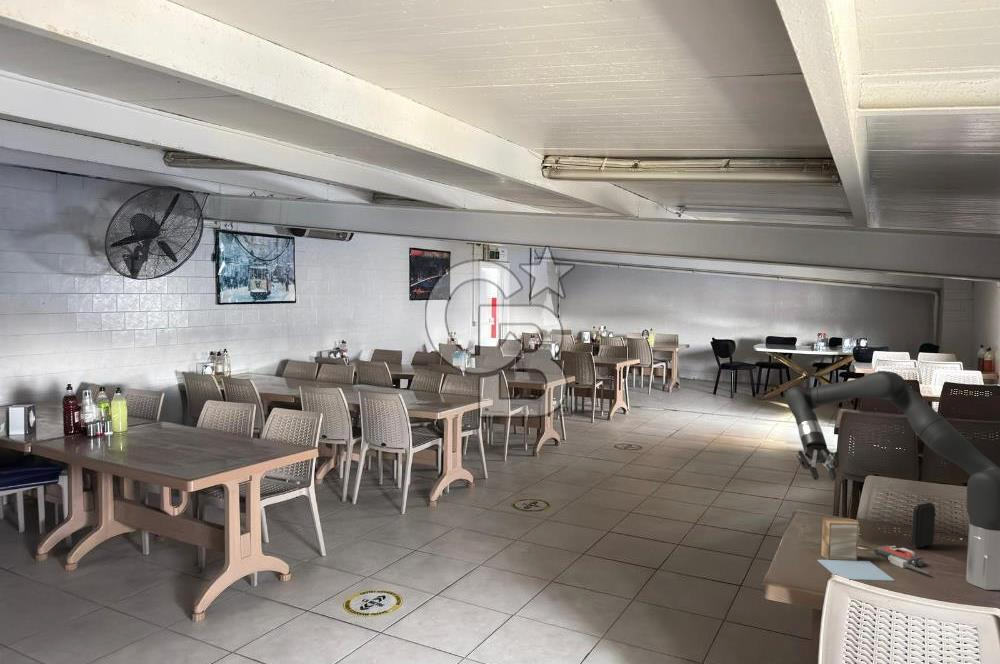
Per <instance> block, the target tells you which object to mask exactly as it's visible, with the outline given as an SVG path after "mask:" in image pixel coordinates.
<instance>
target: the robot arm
mask: <svg viewBox="0 0 1000 664" xmlns="http://www.w3.org/2000/svg"><path fill="white" fill-rule="evenodd" d="M857 398H859V399H860V398H875V399H879V400H887V401H889V402H890V403H892V404H893V405H894V406H895V407H897V408H898V409H899V410H900V411H901V412H902V413H903V414H904V416H905V418H907V421H908V423H909V425H910V427H911V428H912V431H913V432H914V433H915V434H916V435H917V436H918V438H919V439H920V440H922V442H923V443H924V444H925V445H926V446H927V447H928V448H929V449H931V450H932V451H933V452H934V453H936V454H938V455H939V456H940V457H943V458H944V459H946V460H948V461H950V462H951V463H954V465H955V464H956V465H957V466H959V467H960V468H961V469H963V470H964V471H965V472H966V473H967V474H968V475H970V477H969V478H968V480H967V485H966V513H967V514H968V518H969V519H968V520H969V521H968V537H967V539H968V540H967V541H968V542H967V553H966V554H967V559H966V578H965V581H966V582H967V583H969V584H971V585H972V586H975V587H978V588H980V589H983V590H986V591H987V590H989V591H991V590H992V591H1000V466H998V465H997V464H995V463H994V462H993V461H992V460H990V459H989V458H988V457H986V456H985V455H984V454H982V452H980V451H979V450H978V449H977V448H976V447H975V446H974V445H973V444H972V443H971V442H970V441H969V440H968V439H966V437H965V436H963V435H962V434H961V433H960V432H959V431H958V430H957V429H956V428H955V426H953V425H952V424H951V423H949V421H948V420H946V419H945V418H944V417H943V416H942V415H941V414H939V412H937V411H936V409H934V408H933V407H932V406H930V405H929V404H928V403H927V402H926V401H925V400H924V399H922V398H921V397H920V396H919V395H918V393H917V391H915V390H914V389H913V388H912V387H911V385H910V384H909V383H908V382H907V380H906V379H905V378H903V376H901V375H900V374H898V373H896V372H893V371H887V370H880V371H879V370H877V371H875V372H872V373H870V374H866V375H863V376H861V377H858V378H855V379H854V378H853V379H851V380H846V381H842V382H841V381H840V382H833V383H828V384H822V385H817V386H815V387H813V388H812V389H811V391H810V392H807V390H805V389H803V388H801V387H800V386H792V387H790V388H788V389H787V391H786V393H785V401H786V403H787V407H788V408H789V410H790V412H791V414H792V415H793V417H794V418H795V423H796V426H797V428H798V435H799V436H798V437H799V438H800V441H801V445H802V448H803V450H799V451H798V452H797V454H796V458H797V460H798V461H799V462H800V464H801V466H802V468H803V469H804V470H809V471H810V474H811V477H812V479H813V480H814V481H818V480H819V478H820V477H819V473H818V469H817V467H816V464H817V463H818V464H819V463H820V464H822V465H823V466H824V467H825V468H826V469H827V470H828V471H827V472H828V476H829V478H830V481H831V482H833V481H835V480H836V478H837V473H836V471H837V470H838V468H839V467H840V456H839V455H840V454H839V452H838V451H835V452H832V451H830V450H829V448H828V447H827V442H826V439H825V435H824V433H823V429H822V427H821V425H820V423H819V420H818V417H817V413H816V412H815V411H814V410H815V409H817V408H820V407H822V406H828V405H834V404H838V403H843V402H846V401H850V400H852V399H857ZM807 459H809V461H808V460H807Z"/></svg>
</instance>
